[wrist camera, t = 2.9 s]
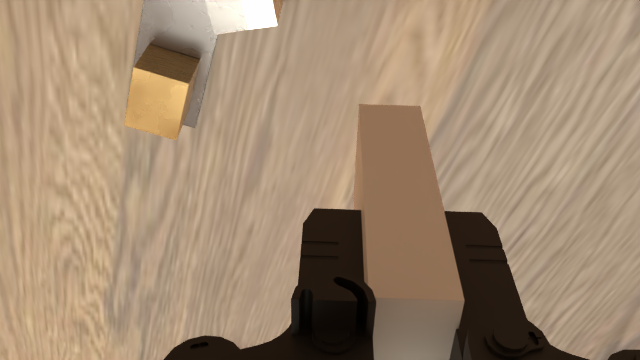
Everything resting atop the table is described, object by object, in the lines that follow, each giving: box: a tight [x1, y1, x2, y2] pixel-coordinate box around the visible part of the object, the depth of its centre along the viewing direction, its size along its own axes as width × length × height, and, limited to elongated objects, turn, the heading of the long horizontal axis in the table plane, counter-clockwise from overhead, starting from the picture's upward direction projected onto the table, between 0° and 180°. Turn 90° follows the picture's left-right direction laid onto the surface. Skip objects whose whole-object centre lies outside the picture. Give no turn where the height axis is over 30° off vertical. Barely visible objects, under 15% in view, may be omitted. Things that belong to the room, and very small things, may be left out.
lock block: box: [124, 44, 200, 140], centre depth 37 cm, size 4×3×3 cm
